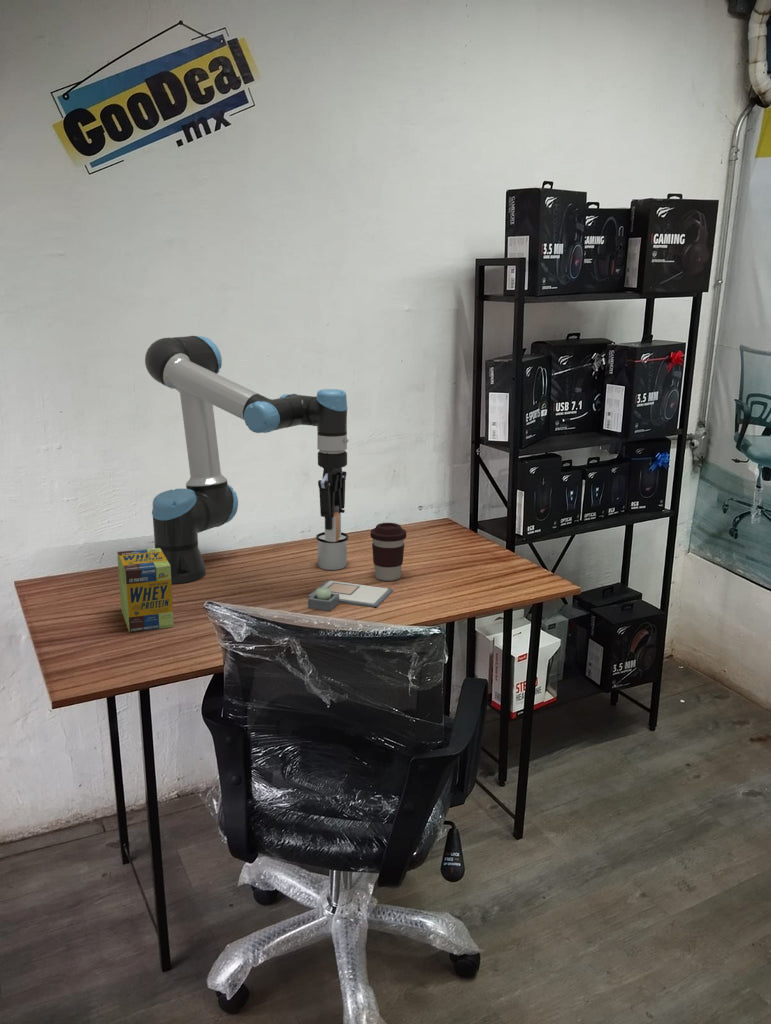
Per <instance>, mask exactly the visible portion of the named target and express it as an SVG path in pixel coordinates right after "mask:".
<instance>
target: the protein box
mask: <svg viewBox="0 0 771 1024" xmlns="http://www.w3.org/2000/svg"><path fill="white" fill-rule="evenodd" d="M116 555H117V568H118V581H119V595H120V599H119V600H120V610H121V613H122V615H123V620H124V622H125V624H126V627H127V630H128V633H138V632H144V631H145V632H146V631H151V630H152V631H153V630H157V629H166V628H173V627H174V623H175V622H174V621H175V620H174V605H173V587H172V583H171V566H170V564H169V562H168V561H167V559H166V557H165V555H164V554H163V552H162V550H161V549H160V548H155V547H154V548H144V549H134V550H123V551H121V550H120V551H117V553H116Z"/></svg>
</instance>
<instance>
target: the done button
mask: <svg viewBox="0 0 771 1024" xmlns="http://www.w3.org/2000/svg"><path fill="white" fill-rule="evenodd" d="M317 588H318V587H317ZM317 588H316V589H317ZM330 598H331V589H330V588H326V587H321V588H318V589H317V599H322V600H329V599H330Z"/></svg>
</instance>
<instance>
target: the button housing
mask: <svg viewBox="0 0 771 1024" xmlns="http://www.w3.org/2000/svg"><path fill="white" fill-rule="evenodd" d="M339 604H340V603H339V594H335V593H331V598H330V599H329V600H322V599H317V592H316V593H315V594H313V595H312V596H311V597H310V598H308V599H307V608H308V609H310V610H319V611H324V612H331V611H332V610H333V609H335V608H336V607H337V606H338V605H339Z"/></svg>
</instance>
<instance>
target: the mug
mask: <svg viewBox="0 0 771 1024" xmlns="http://www.w3.org/2000/svg"><path fill="white" fill-rule="evenodd" d="M349 536H350V535H348V534H347V533H346V532H342V531H341V538H339V540H338V541H337V542H328V541H325V531H324V532H320V533H317V534H316V535H315V540H316V541H317V566H318V568H320V569H322V570H326V571H338V570H342V569H344V568H346V567H347V566H348V565H347V563H348V561H347V559H348V557H347V555H348V553H347V551H348V550H347V548H348V547H347V545H348V542H347V541H348V540H349Z"/></svg>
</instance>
